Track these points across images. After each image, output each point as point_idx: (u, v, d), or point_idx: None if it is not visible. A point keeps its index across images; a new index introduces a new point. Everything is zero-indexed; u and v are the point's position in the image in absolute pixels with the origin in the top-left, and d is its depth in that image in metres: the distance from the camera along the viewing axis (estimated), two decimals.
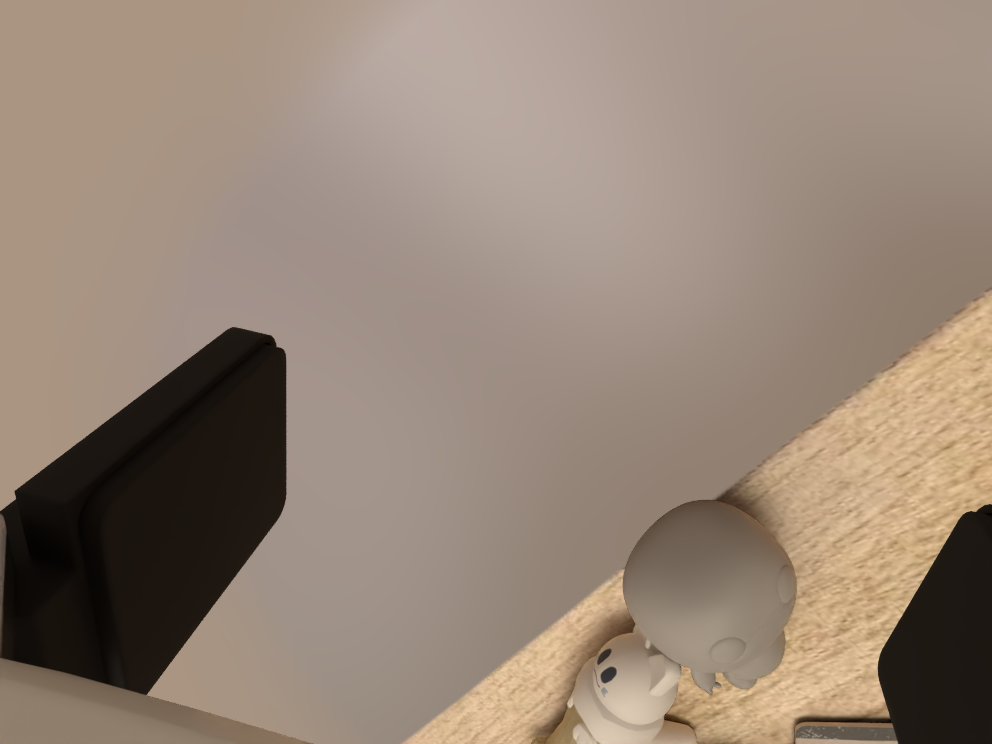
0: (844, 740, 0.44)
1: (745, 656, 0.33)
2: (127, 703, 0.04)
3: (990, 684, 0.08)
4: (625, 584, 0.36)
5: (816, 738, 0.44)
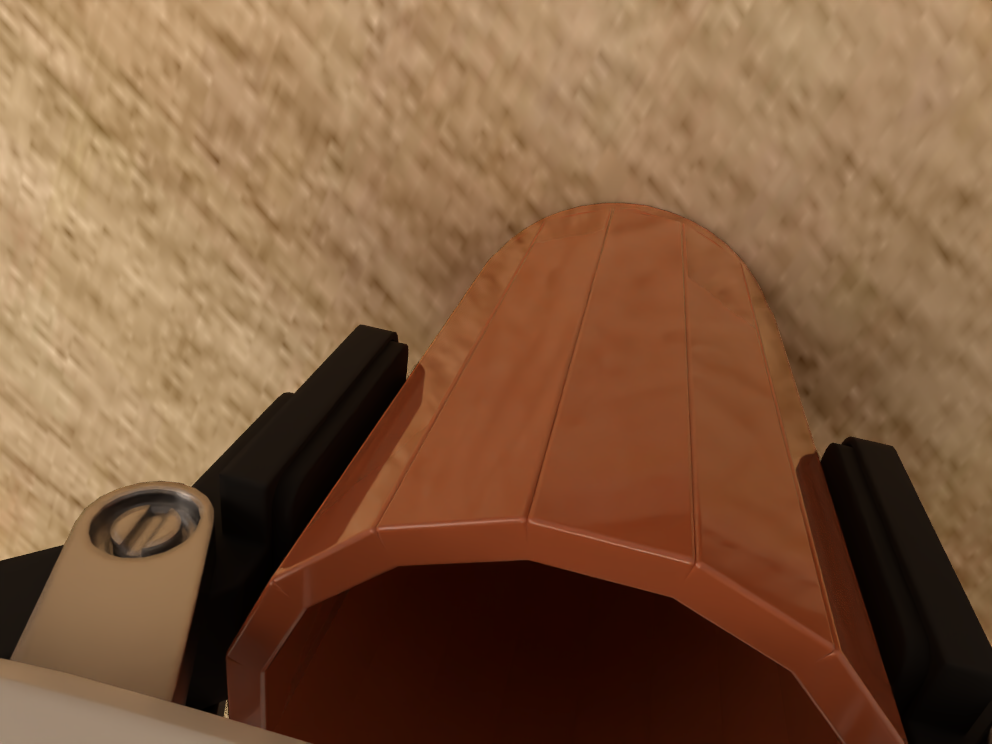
0: None
1: None
2: (127, 703, 0.04)
3: None
4: None
5: None
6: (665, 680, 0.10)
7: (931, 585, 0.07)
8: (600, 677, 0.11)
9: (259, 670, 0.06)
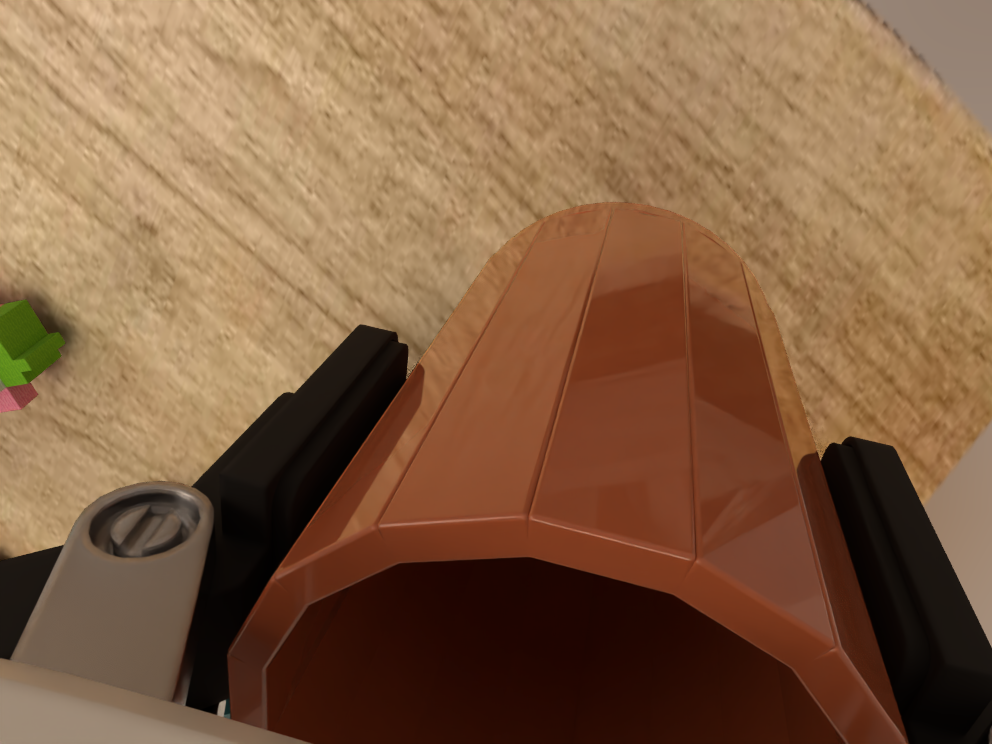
0: None
1: None
2: (127, 703, 0.04)
3: None
4: None
5: None
6: (665, 678, 0.10)
7: (931, 585, 0.07)
8: (601, 676, 0.11)
9: (260, 667, 0.07)
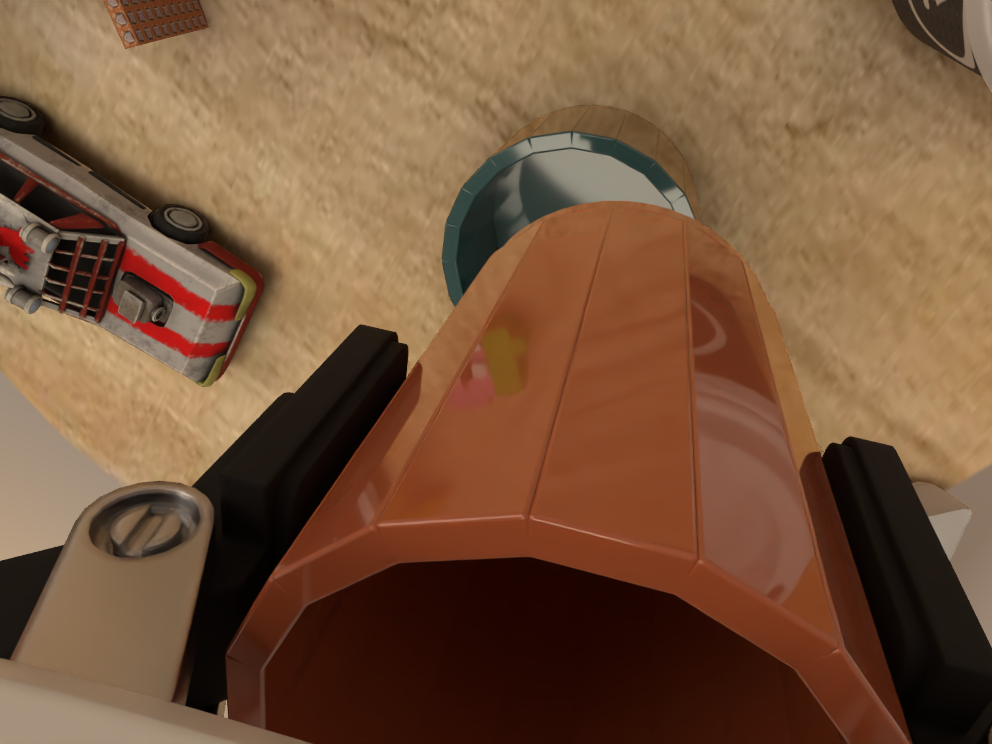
0: None
1: None
2: (127, 703, 0.04)
3: None
4: None
5: None
6: (666, 679, 0.10)
7: (931, 585, 0.07)
8: (601, 676, 0.11)
9: (259, 668, 0.06)
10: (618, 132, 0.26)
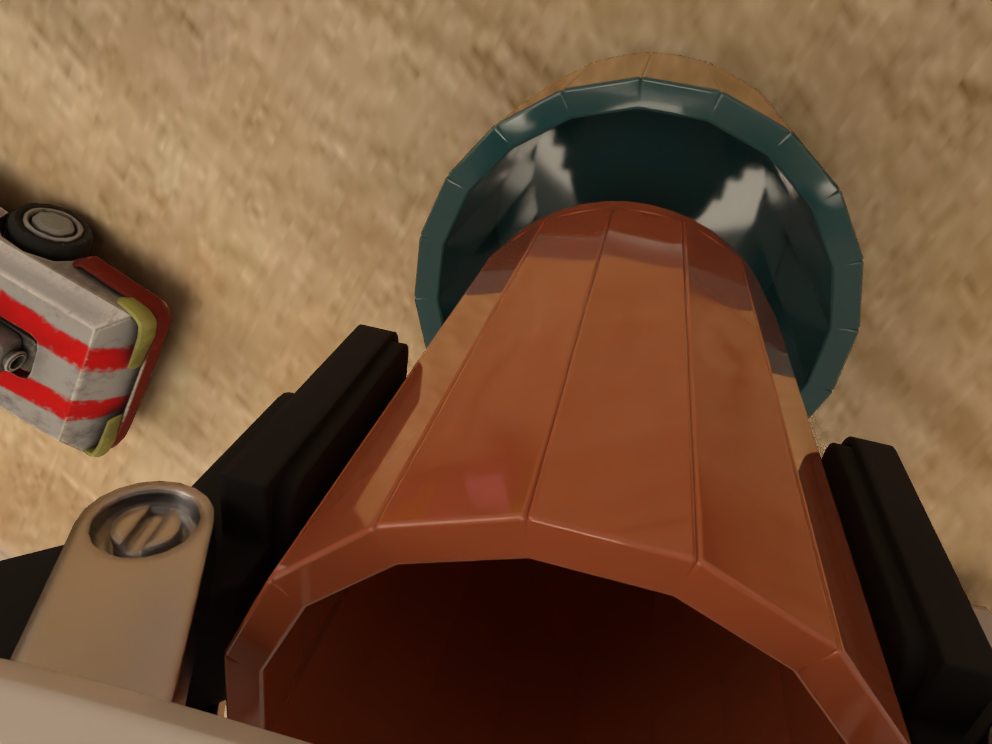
0: None
1: None
2: (127, 703, 0.04)
3: None
4: None
5: None
6: (666, 679, 0.10)
7: (931, 585, 0.07)
8: (601, 677, 0.11)
9: (257, 669, 0.06)
10: (716, 83, 0.15)
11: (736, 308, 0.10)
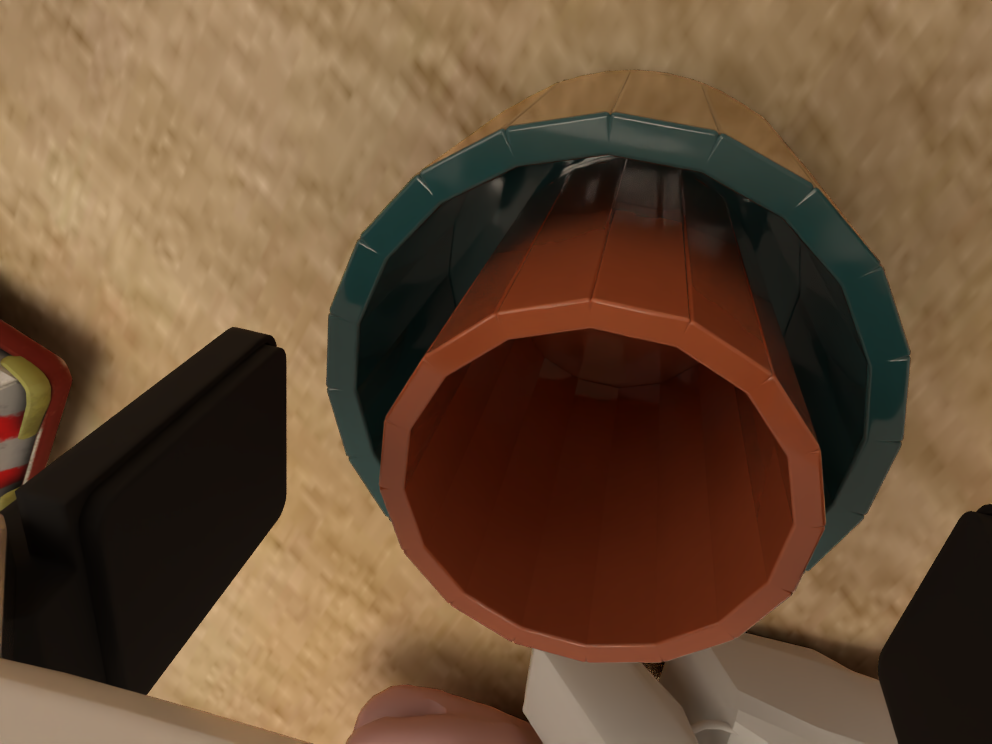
0: None
1: None
2: (127, 703, 0.04)
3: (990, 684, 0.08)
4: None
5: None
6: (668, 501, 0.14)
7: None
8: (619, 504, 0.14)
9: (407, 428, 0.10)
10: (712, 117, 0.11)
11: (719, 224, 0.13)
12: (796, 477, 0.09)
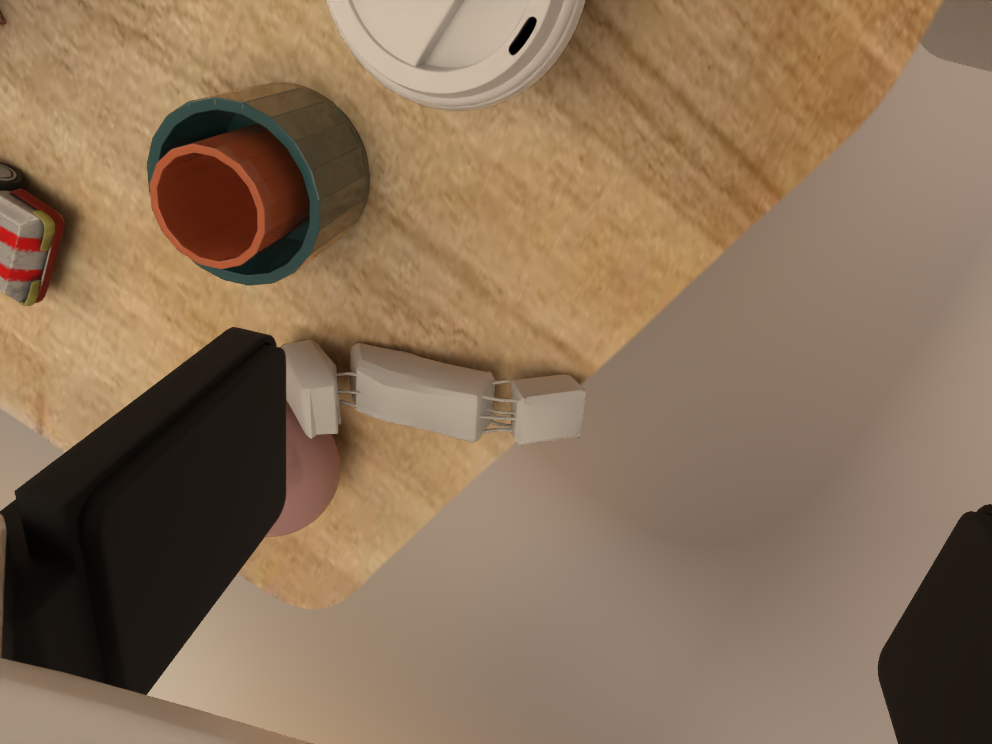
0: None
1: None
2: (128, 703, 0.04)
3: (990, 684, 0.08)
4: None
5: None
6: None
7: None
8: None
9: (155, 187, 0.35)
10: (257, 99, 0.36)
11: None
12: (252, 194, 0.34)
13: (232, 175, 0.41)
